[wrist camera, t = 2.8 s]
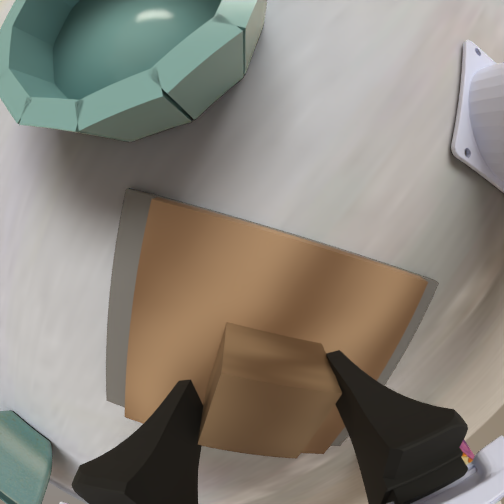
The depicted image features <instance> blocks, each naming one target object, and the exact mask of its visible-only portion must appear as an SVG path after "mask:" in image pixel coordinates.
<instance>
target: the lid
mask: <svg viewBox="0 0 504 504" xmlns="http://www.w3.org/2000/svg"><path fill="white" fill-rule="evenodd" d="M427 284H428V282H427V281H426V280H425V279H423V278H422V277H420V276H417V275H414V274H411V273H408V272H406V271H403V270H400V269H397V268H394V267H391V266H388V265H384V264H381V263H378V262H375V261H372V260H369V259H366V258H363V257H360V256H357V255H354V254H351V253H347V252H344V251H341V250H338V249H335V248H332V247H328V246H325V245H322V244H319V243H315V242H312V241H309V240H306V239H302V238H299V237H296V236H293V235H289V234H286V233H283V232H279V231H276V230H273V229H269V228H266V227H262V226H259V225H256V224H252V223H249V222H245V221H242V220H238V219H235V218H231V217H228V216H224V215H221V214H217V213H214V212H210V211H207V210H203V209H199V208H196V207H192V206H188V205H185V204H181V203H177V202H174V201H170V200H166V199H162V198H159V197H156V198H153V199H151V204H150V208H149V212H148V217H147V222H146V227H145V232H144V237H143V242H142V247H141V253H140V258H139V264H138V270H137V277H136V283H135V290H134V297H133V305H132V313H131V322H130V331H129V341H128V353H127V367H126V386H125V417H126V418H129V419H132V420H135V421H138V422H141V423H145V422H146V421H147V419H148V418H149V417H150V416H151V415H152V414H153V413H154V412H155V410H156V409H157V408H158V407H159V406H160V404H161V403H162V402H163V401H164V399H165V398H166V397H167V395H168V394H169V393H170V392H171V390H172V389H173V388H174V386H175V385H176V384H177V382H178V381H181V380H190V379H191V381H192V383H193V385H194V387H195V389H196V391H197V393H198V396H199V398H200V400H201V402H202V404H203V412H202V418H201V424H200V431H199V438H198V445H202V446H206V447H211V448H216V449H222V450H227V451H233V452H240V453H247V454H254V455H263V456H272V457H284V458H297V457H298V456H299V455H300V453H315V454H324V453H325V451H326V450H327V449H328V448H329V447H330V445H331V444H332V443H333V442H334V440H335V439H336V438H337V437H338V435H339V434H340V433H341V431H342V430H343V429H344V427H345V425H344V423H343V420H342V418H341V416H340V414H339V411H338V409H337V407H336V405H335V404H336V402H337V401H338V399H339V398H340V396H341V395H342V391H341V389H340V386H339V384H338V381H337V379H336V376H335V374H334V372H333V371H332V368H331V366H330V364H329V361H328V359H327V356H326V353H330V352H334V351H338V350H340V351H342V352H343V353H344V354H345V355H346V356H347V357H348V358H349V359H350V360H351V361H352V362H353V363H354V364H355V365H357V366H358V367H359V368H360V369H361V370H363V371H364V372H365V373H367V374H368V375H369V376H371V377H372V378H373V379H375V380H376V381H377V379H378V378H379V376H380V375H381V373H382V371H383V370H384V368H385V366H386V365H387V363H388V361H389V360H390V358H391V356H392V354H393V353H394V351H395V349H396V347H397V345H398V344H399V342H400V340H401V338H402V336H403V334H404V332H405V330H406V329H407V327H408V325H409V323H410V321H411V319H412V317H413V315H414V312H415V310H416V308H417V306H418V304H419V302H420V300H421V298H422V295H423V293H424V291H425V289H426V286H427Z"/></svg>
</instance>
